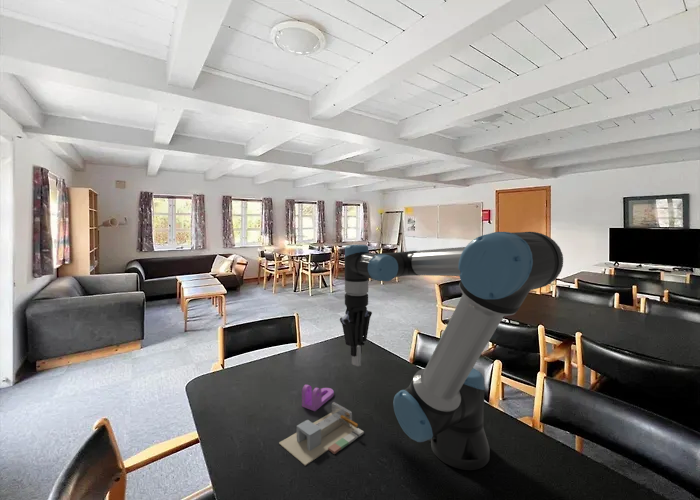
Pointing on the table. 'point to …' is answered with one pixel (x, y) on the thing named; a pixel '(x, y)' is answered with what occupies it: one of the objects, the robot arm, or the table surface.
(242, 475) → the table surface
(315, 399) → the bracket
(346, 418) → the grey sliding clamp
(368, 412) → the table surface
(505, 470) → the table surface
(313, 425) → the beige mechanism board
